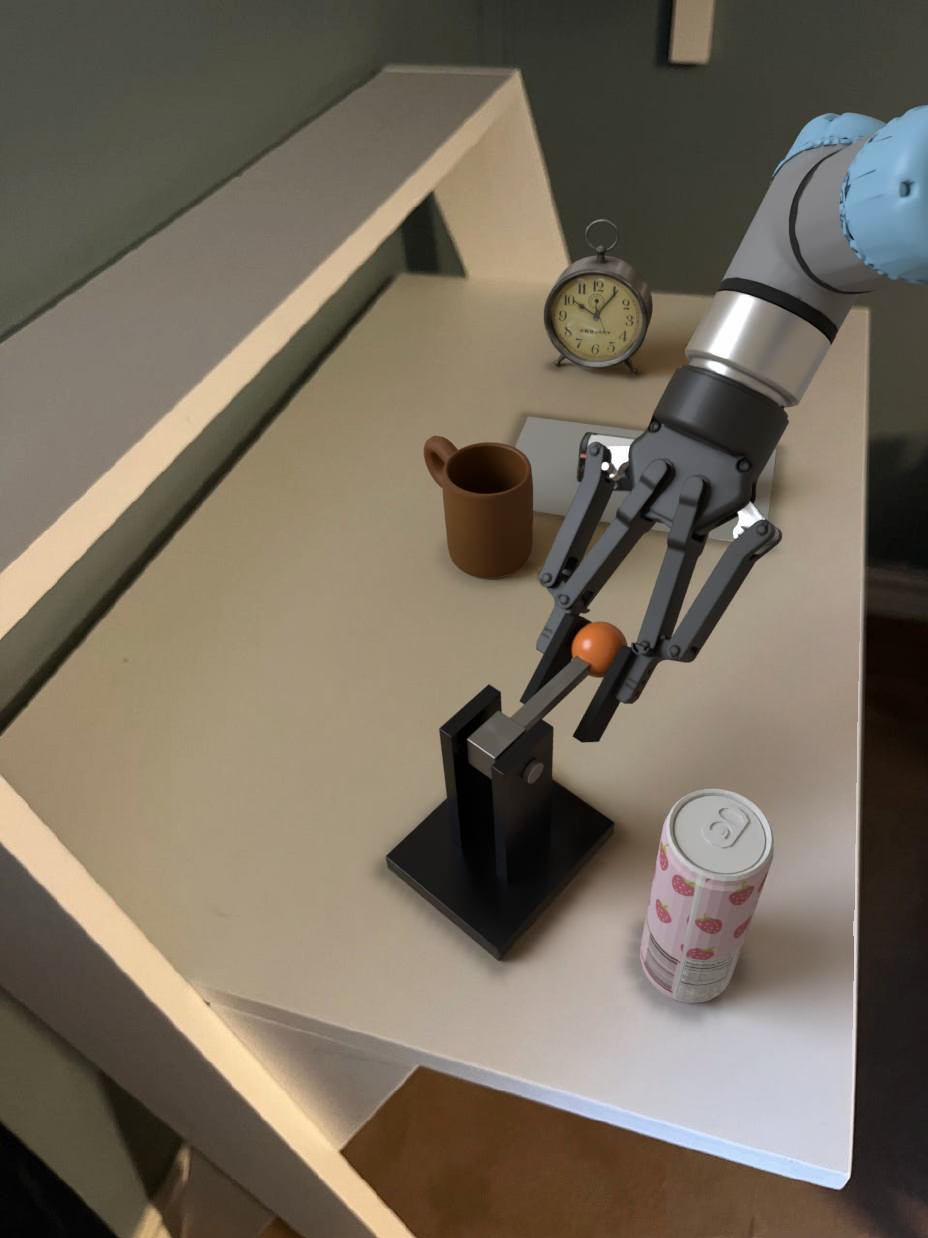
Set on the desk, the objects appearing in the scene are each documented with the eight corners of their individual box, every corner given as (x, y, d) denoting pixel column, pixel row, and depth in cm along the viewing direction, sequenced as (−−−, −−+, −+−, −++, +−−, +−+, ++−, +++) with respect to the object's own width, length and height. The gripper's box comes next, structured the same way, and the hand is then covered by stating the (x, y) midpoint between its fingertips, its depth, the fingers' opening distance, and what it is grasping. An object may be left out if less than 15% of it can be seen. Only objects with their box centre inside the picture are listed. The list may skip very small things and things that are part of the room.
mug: (400, 528, 89) (390, 444, 82) (463, 491, 92) (458, 408, 85) (486, 595, 82) (482, 510, 76) (550, 553, 86) (552, 468, 79)
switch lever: (592, 639, 65) (595, 601, 62) (636, 665, 63) (641, 627, 60) (459, 762, 58) (456, 726, 56) (504, 795, 56) (504, 759, 54)
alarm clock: (542, 372, 106) (543, 226, 94) (553, 346, 109) (555, 203, 97) (641, 384, 103) (655, 235, 91) (650, 357, 107) (664, 211, 95)
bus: (764, 546, 85) (773, 509, 82) (490, 504, 91) (489, 468, 88) (776, 448, 94) (784, 412, 91) (528, 416, 100) (528, 381, 97)
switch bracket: (503, 756, 71) (498, 628, 61) (614, 834, 66) (629, 708, 56) (387, 867, 65) (361, 746, 55) (499, 962, 60) (492, 848, 50)
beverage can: (736, 927, 61) (780, 794, 50) (729, 1015, 57) (775, 893, 46) (645, 908, 62) (669, 774, 51) (633, 993, 58) (656, 869, 47)
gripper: (876, 454, 57) (687, 789, 61) (643, 360, 66) (490, 661, 70) (855, 421, 51) (645, 797, 55) (600, 322, 59) (434, 655, 63)
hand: (559, 720), depth 62 cm, fingers closed on switch lever, 4 cm apart
